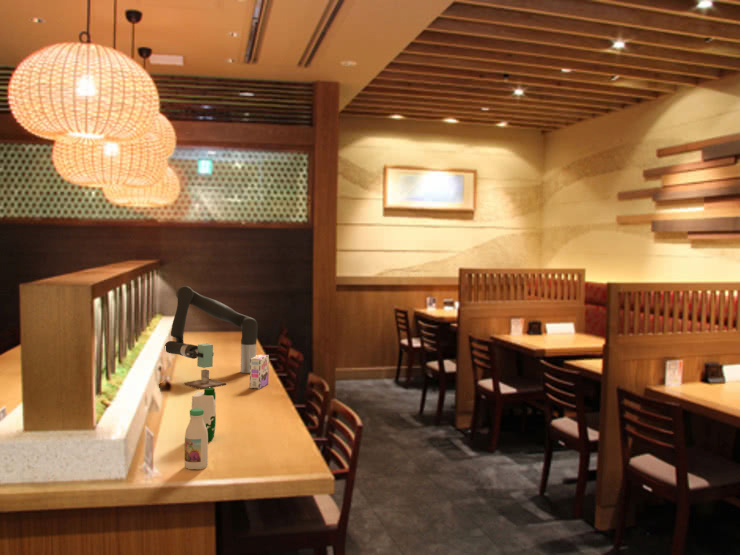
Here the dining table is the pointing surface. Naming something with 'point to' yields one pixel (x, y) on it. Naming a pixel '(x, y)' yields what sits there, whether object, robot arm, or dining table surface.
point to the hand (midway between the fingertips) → (207, 355)
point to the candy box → (259, 371)
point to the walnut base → (200, 385)
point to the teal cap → (205, 355)
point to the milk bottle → (196, 441)
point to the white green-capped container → (207, 408)
